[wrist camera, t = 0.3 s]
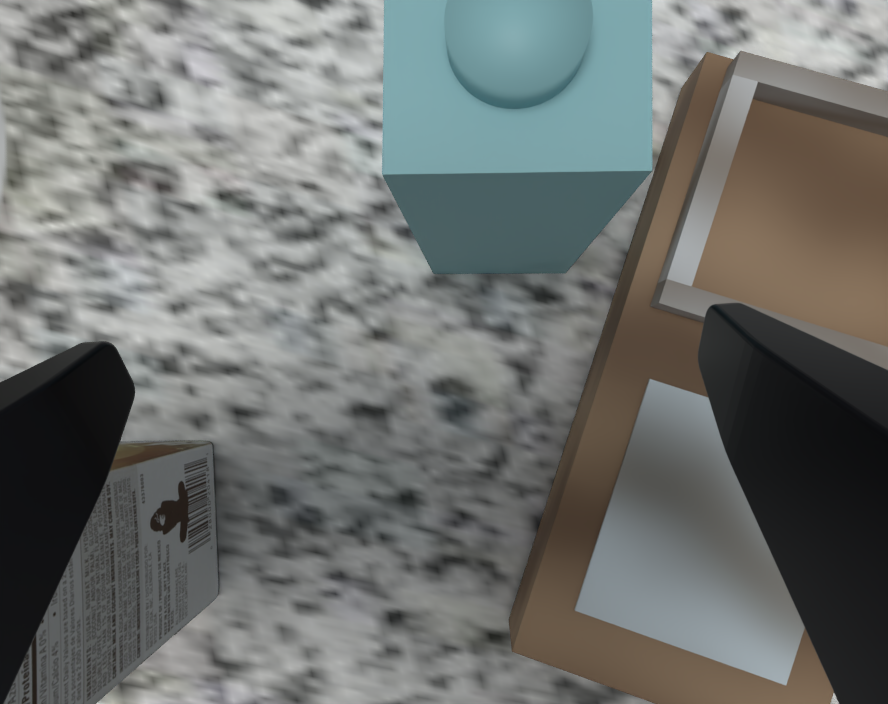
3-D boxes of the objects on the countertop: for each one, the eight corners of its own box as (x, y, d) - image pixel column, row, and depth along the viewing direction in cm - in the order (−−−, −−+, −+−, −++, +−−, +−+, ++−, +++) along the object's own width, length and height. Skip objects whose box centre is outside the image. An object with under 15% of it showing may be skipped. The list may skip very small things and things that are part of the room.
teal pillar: (565, 273, 22) (663, 157, 10) (433, 273, 23) (375, 161, 10) (565, 142, 22) (662, -128, 10) (434, 145, 23) (378, -114, 11)
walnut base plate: (773, 714, 21) (830, 782, 18) (508, 619, 22) (513, 666, 18) (949, 163, 21) (1041, 123, 18) (681, 87, 22) (718, 34, 19)
